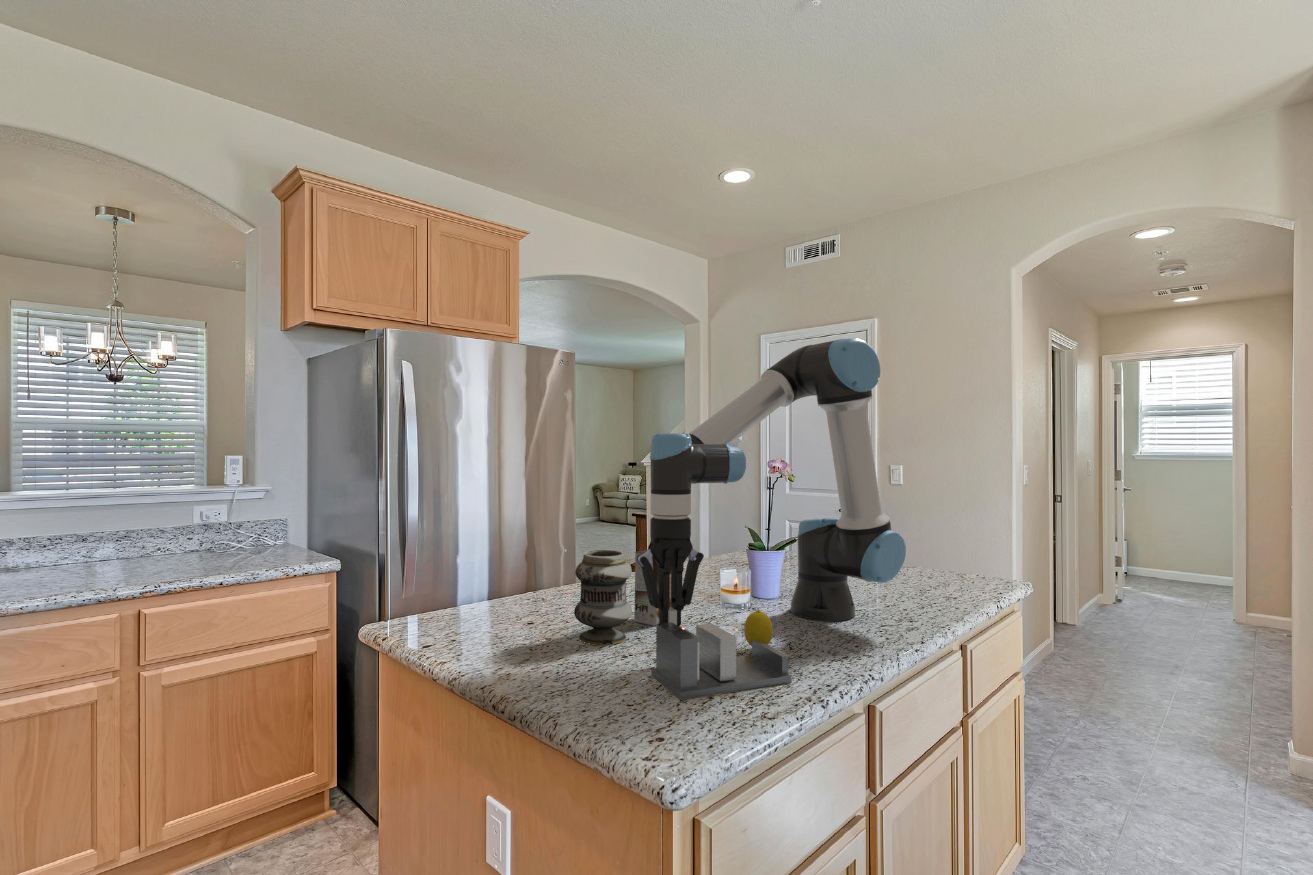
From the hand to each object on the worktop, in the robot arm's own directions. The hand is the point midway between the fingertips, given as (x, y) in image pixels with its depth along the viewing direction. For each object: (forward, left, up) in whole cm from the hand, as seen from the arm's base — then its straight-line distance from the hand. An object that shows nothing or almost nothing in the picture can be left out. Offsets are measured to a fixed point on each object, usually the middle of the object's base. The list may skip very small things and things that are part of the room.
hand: (670, 644), depth 119 cm
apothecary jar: (+6, -20, -4) cm, 21 cm away
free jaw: (-4, +4, -2) cm, 6 cm away
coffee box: (-10, -29, -4) cm, 31 cm away
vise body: (-5, +10, -4) cm, 12 cm away
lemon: (-20, -1, -4) cm, 20 cm away
